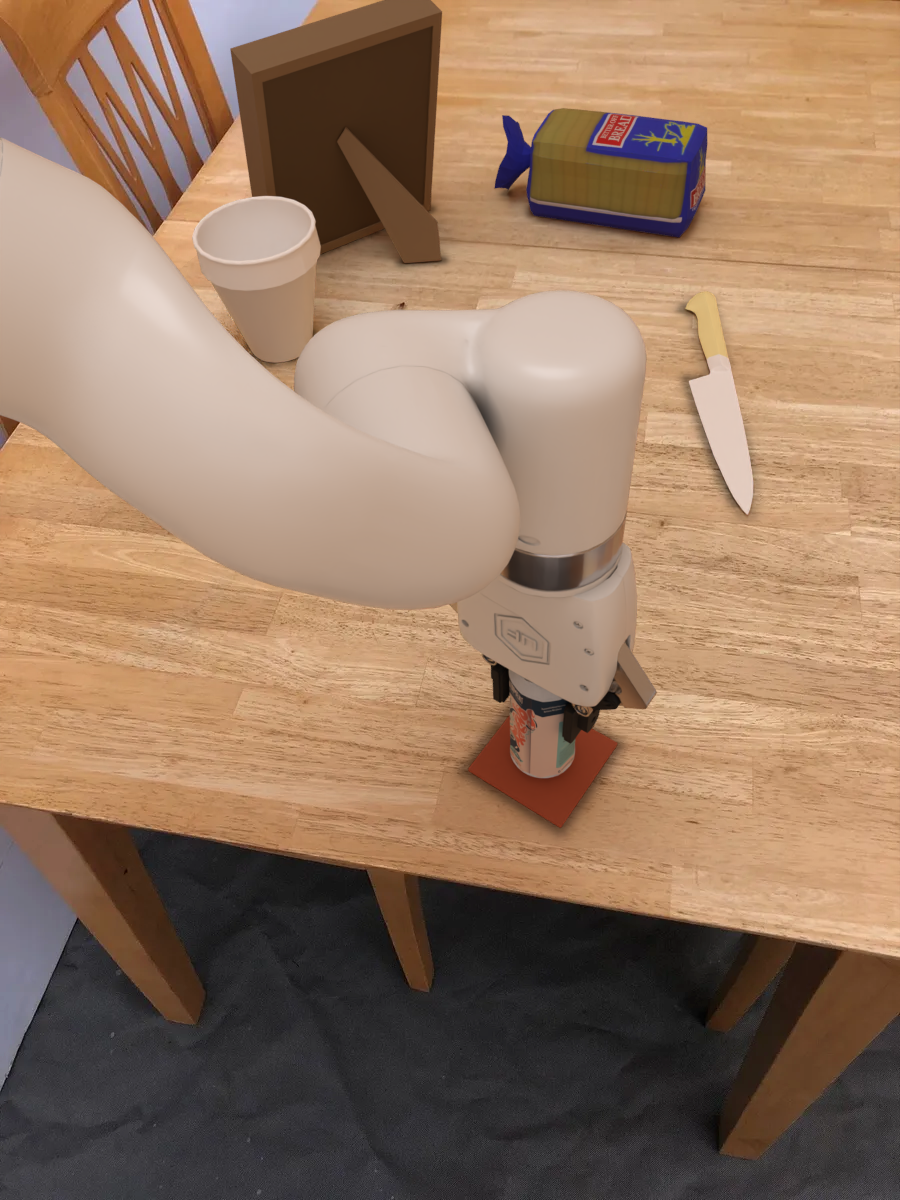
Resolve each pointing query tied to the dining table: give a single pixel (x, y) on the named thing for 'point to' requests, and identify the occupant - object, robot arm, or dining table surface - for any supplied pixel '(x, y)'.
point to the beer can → (537, 729)
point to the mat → (544, 794)
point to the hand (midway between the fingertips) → (543, 704)
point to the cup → (263, 270)
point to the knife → (721, 403)
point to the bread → (610, 169)
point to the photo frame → (348, 122)
